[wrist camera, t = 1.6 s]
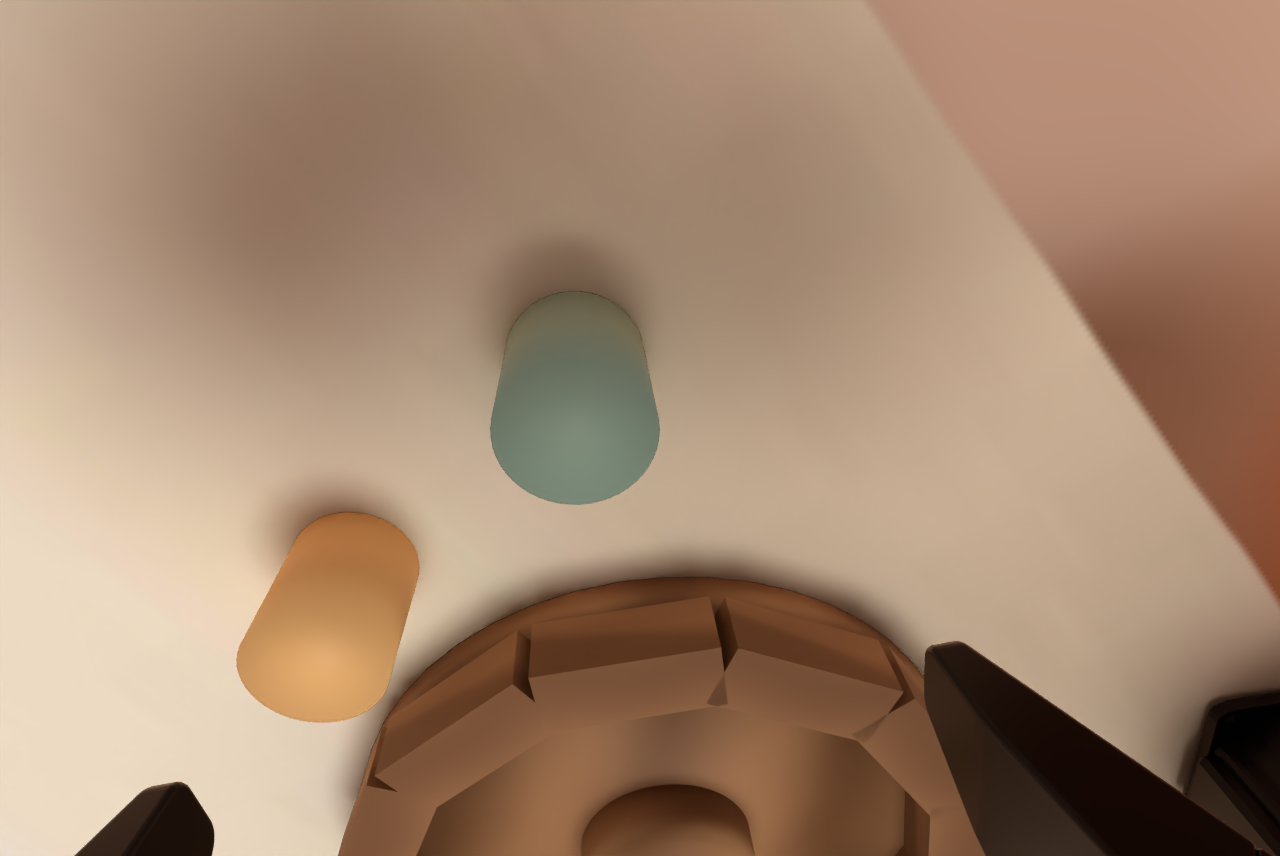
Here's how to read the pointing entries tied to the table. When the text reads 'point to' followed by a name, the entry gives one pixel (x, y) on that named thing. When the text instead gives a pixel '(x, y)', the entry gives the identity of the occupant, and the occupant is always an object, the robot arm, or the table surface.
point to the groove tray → (664, 735)
